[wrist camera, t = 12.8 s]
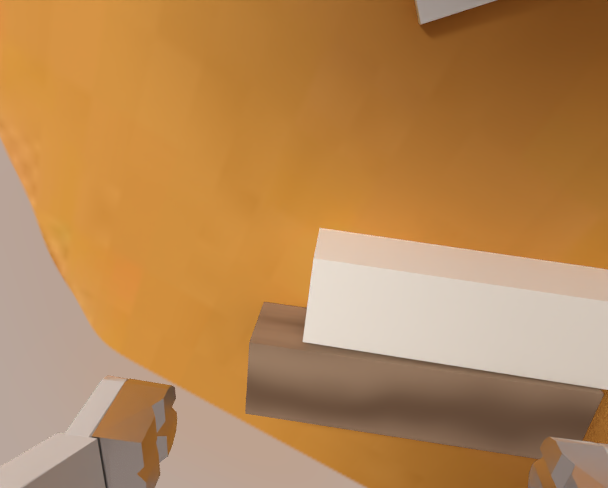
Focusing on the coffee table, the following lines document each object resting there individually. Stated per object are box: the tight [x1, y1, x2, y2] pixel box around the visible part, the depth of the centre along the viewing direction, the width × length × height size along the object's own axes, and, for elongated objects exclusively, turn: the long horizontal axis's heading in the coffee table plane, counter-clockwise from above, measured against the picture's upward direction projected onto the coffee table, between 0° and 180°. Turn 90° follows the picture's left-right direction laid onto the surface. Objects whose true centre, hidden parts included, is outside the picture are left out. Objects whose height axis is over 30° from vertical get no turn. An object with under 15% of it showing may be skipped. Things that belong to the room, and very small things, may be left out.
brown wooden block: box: [246, 302, 604, 459], centre depth 32 cm, size 6×22×5 cm, turn 84°
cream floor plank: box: [303, 228, 608, 390], centre depth 30 cm, size 6×20×5 cm, turn 84°
